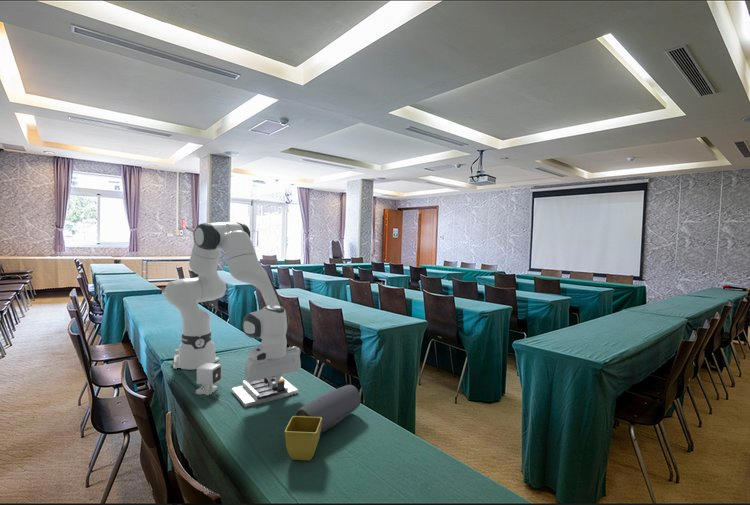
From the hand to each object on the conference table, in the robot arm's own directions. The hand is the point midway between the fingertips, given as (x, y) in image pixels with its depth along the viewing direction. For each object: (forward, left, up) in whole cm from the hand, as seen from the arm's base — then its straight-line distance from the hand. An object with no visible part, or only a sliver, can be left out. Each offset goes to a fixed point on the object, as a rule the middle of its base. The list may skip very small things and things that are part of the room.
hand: (273, 387), depth 139 cm
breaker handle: (0, +3, -1) cm, 3 cm away
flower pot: (+37, -7, -4) cm, 38 cm away
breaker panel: (-6, -1, -4) cm, 7 cm away
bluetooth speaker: (+27, +7, -4) cm, 29 cm away
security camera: (-19, -18, -4) cm, 26 cm away
